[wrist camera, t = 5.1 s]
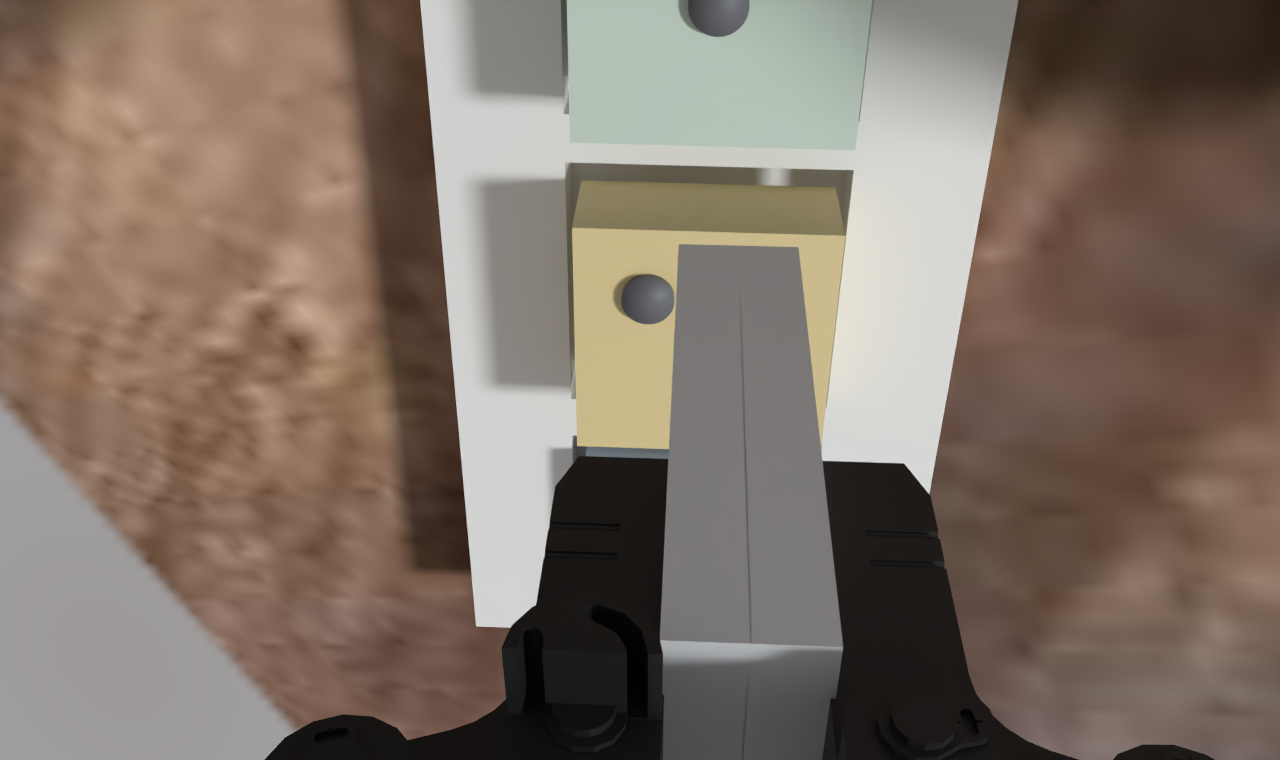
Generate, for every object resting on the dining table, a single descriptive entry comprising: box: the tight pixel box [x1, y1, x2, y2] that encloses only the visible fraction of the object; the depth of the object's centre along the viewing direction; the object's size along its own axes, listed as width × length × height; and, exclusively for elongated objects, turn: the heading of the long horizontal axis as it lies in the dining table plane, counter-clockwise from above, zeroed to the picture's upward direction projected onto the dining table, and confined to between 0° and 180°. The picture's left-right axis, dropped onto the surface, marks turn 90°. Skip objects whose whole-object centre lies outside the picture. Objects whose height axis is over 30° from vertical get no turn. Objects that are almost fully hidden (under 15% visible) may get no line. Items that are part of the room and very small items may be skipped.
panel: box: [420, 0, 1018, 628], centre depth 32 cm, size 24×13×2 cm, turn 179°
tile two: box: [572, 180, 845, 449], centre depth 30 cm, size 6×6×3 cm
